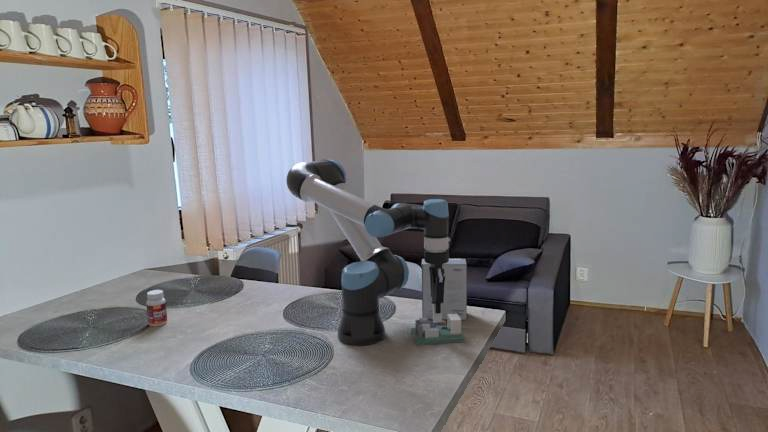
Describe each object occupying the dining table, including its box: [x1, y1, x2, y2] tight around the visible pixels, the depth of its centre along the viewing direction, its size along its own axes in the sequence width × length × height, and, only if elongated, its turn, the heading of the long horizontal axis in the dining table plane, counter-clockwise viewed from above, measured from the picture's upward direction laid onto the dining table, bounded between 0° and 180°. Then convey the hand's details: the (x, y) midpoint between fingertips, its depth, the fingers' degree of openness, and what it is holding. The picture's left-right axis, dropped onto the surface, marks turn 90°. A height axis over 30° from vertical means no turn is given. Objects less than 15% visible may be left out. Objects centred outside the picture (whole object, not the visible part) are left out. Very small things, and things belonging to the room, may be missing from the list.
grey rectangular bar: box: [416, 319, 447, 327], centre depth 173 cm, size 9×3×1 cm, turn 96°
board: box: [411, 317, 465, 346], centre depth 174 cm, size 15×11×5 cm
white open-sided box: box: [446, 314, 462, 334], centre depth 174 cm, size 3×5×5 cm, turn 6°
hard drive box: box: [421, 258, 468, 321], centre depth 190 cm, size 16×8×20 cm, turn 84°
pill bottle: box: [145, 289, 168, 327], centre depth 188 cm, size 6×6×11 cm
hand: (437, 321), depth 173 cm, fingers closed
